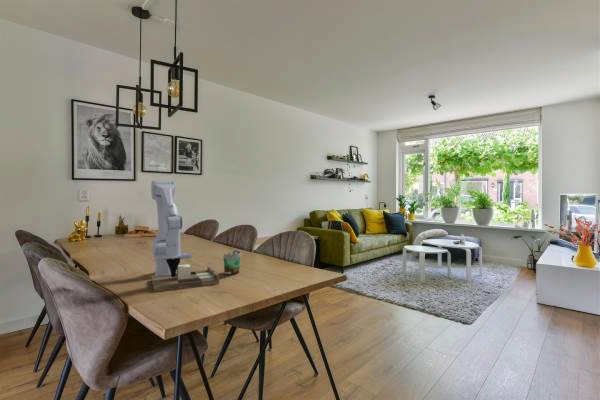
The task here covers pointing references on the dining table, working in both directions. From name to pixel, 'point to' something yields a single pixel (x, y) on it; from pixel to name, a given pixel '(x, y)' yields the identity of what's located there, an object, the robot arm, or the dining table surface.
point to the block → (184, 271)
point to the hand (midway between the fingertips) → (173, 276)
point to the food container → (232, 263)
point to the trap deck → (185, 280)
